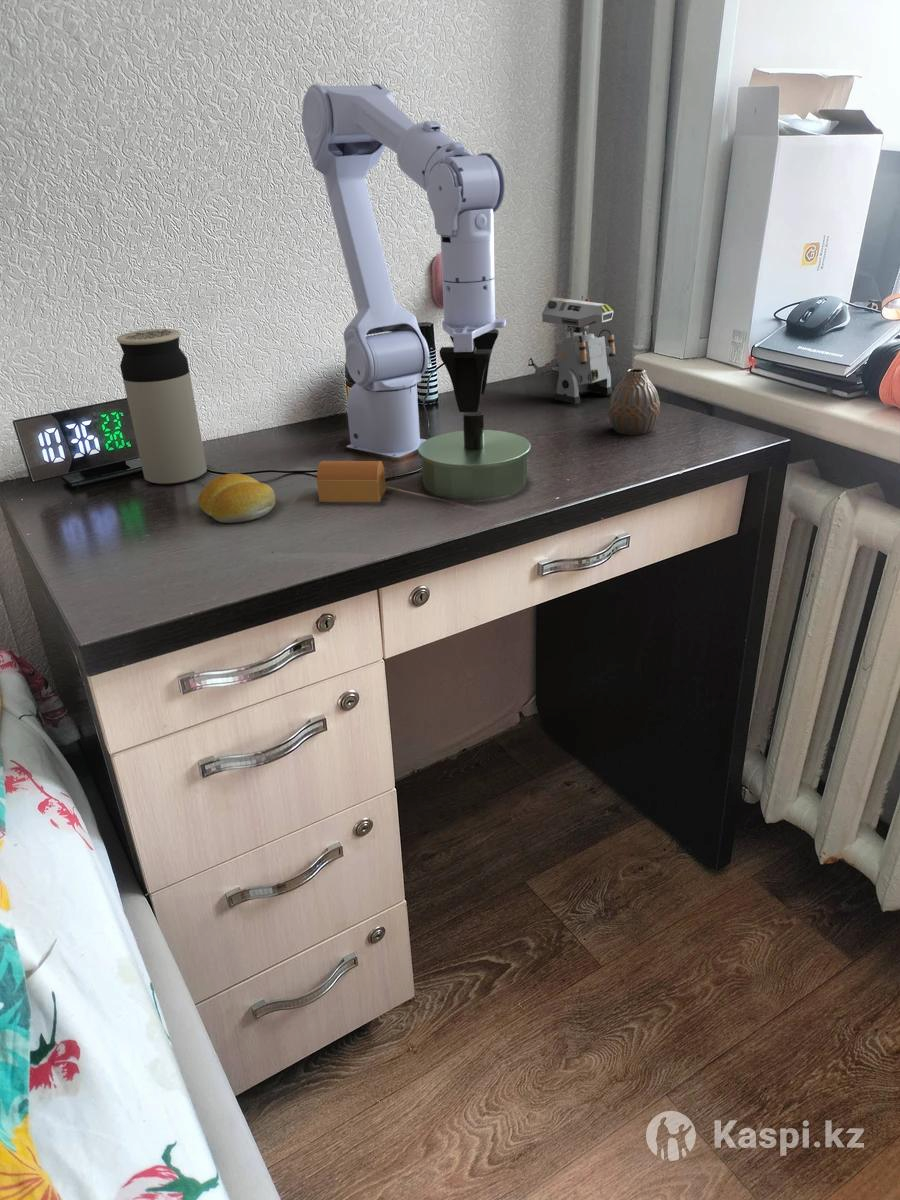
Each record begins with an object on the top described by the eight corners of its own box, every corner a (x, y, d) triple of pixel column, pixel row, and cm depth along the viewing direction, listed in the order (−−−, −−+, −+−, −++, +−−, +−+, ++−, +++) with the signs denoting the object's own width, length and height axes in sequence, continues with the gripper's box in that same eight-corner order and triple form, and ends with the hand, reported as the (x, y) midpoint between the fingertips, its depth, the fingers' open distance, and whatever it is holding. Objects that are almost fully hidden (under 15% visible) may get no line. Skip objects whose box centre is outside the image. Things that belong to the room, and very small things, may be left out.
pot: (403, 491, 105) (400, 456, 103) (464, 462, 114) (462, 429, 112) (487, 511, 98) (486, 474, 96) (545, 478, 107) (545, 444, 105)
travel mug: (219, 473, 114) (194, 332, 106) (165, 490, 109) (135, 343, 101) (186, 461, 119) (160, 325, 111) (133, 477, 114) (101, 336, 106)
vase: (665, 429, 122) (669, 366, 118) (647, 443, 117) (651, 378, 113) (619, 424, 126) (622, 362, 122) (599, 437, 121) (601, 373, 117)
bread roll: (227, 531, 96) (221, 497, 95) (191, 510, 103) (185, 478, 101) (291, 510, 101) (287, 477, 99) (253, 491, 107) (248, 460, 105)
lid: (395, 461, 103) (392, 419, 101) (462, 432, 113) (461, 393, 110) (488, 481, 96) (487, 436, 93) (551, 448, 105) (552, 406, 103)
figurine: (565, 385, 146) (567, 292, 139) (619, 397, 139) (624, 298, 132) (527, 396, 141) (527, 300, 134) (581, 409, 133) (584, 307, 126)
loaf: (319, 504, 102) (315, 468, 100) (328, 491, 106) (324, 456, 104) (379, 504, 102) (376, 468, 99) (386, 491, 105) (383, 456, 103)
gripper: (500, 288, 88) (502, 419, 94) (509, 269, 101) (510, 386, 107) (431, 290, 89) (437, 420, 95) (449, 270, 102) (453, 386, 108)
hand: (472, 402), depth 101 cm, fingers open, 7 cm apart
